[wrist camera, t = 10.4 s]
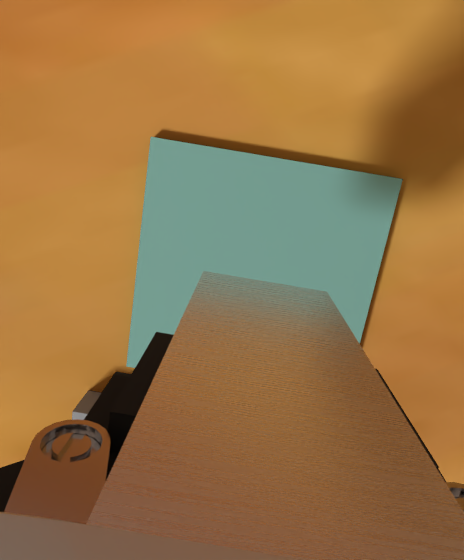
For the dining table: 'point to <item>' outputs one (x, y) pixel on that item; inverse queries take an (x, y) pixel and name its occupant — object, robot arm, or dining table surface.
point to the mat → (255, 231)
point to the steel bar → (277, 439)
